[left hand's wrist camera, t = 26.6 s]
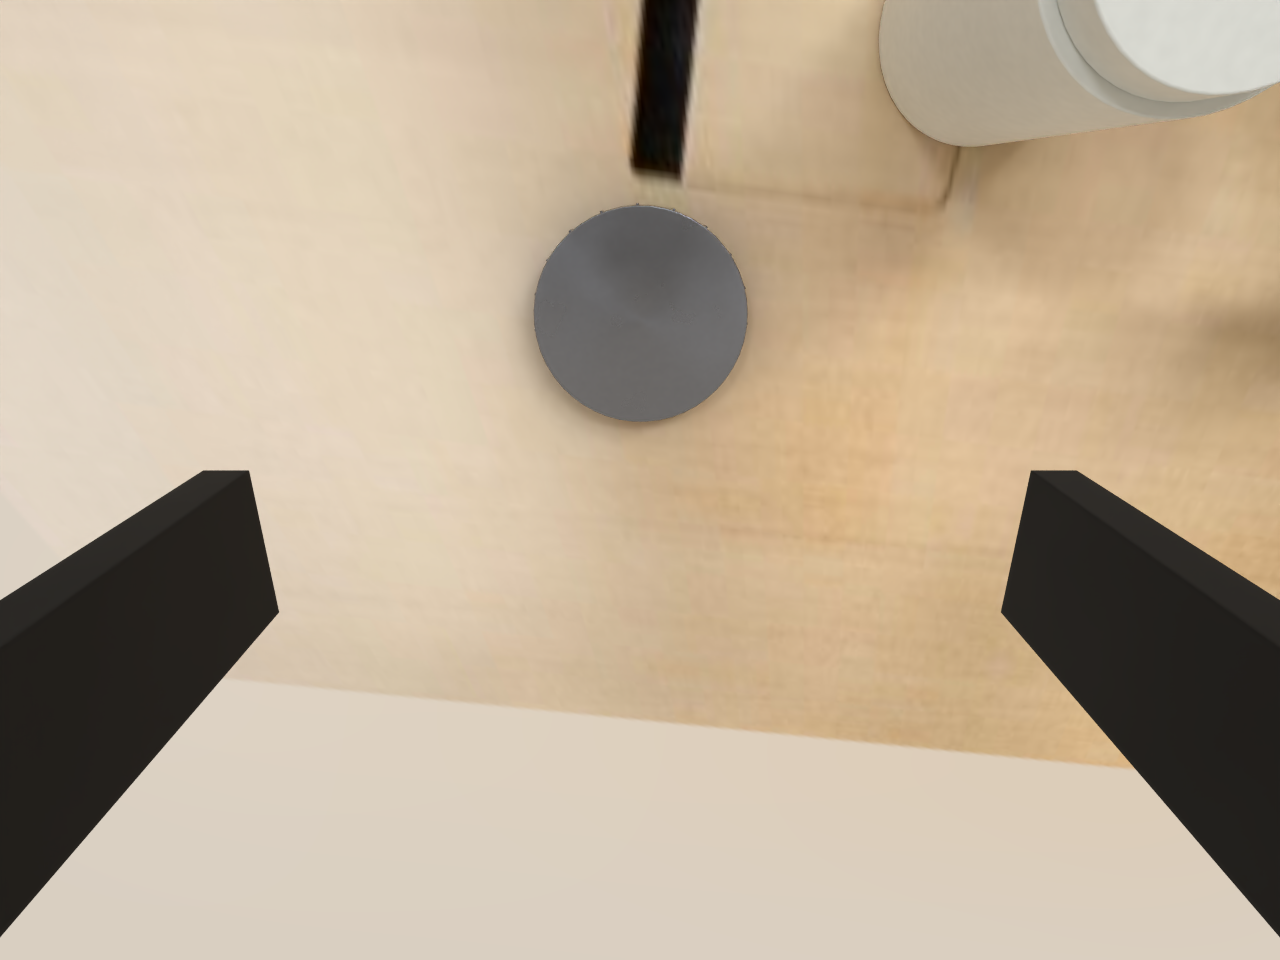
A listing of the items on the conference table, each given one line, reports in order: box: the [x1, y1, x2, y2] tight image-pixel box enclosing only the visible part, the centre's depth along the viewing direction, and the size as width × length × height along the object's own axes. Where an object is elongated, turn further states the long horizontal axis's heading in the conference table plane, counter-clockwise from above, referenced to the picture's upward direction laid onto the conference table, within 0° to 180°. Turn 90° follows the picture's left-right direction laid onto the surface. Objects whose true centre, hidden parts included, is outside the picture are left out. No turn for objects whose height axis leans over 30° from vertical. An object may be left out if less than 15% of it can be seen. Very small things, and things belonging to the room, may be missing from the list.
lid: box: [534, 203, 747, 422], centre depth 36 cm, size 10×10×2 cm
